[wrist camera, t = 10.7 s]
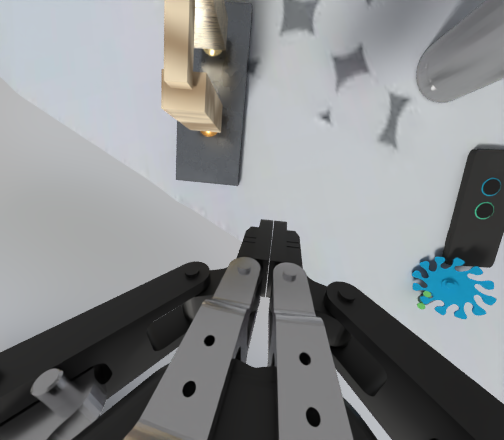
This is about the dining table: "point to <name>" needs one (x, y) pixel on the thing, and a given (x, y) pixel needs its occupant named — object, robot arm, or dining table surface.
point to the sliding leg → (186, 73)
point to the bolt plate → (218, 92)
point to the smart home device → (478, 211)
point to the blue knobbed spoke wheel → (452, 288)
